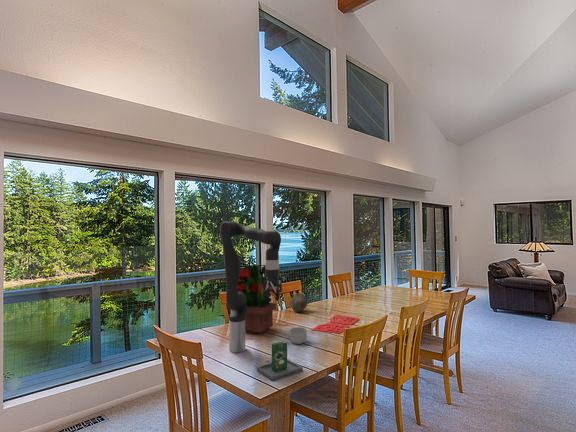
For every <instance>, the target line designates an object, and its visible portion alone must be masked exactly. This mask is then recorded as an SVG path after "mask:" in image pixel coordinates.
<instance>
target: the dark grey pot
mask: <svg viewBox="0 0 576 432" xmlns="http://www.w3.org/2000/svg"><path fill="white" fill-rule="evenodd" d="M307 305H308V299H307V298H306V296H305V295H304V293H295V294H294V295H293V296H292V297H291V300H290V307H291V309H292V310H293V312H295V313H301V312H303V311H305V309H306V308H307V307H308V306H307Z"/></svg>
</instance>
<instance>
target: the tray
mask: <svg viewBox="0 0 576 432" xmlns="http://www.w3.org/2000/svg"><path fill="white" fill-rule="evenodd" d="M271 365H272V363H271V362H269V363H265V364H262V365H259V366H256V371H257V372H258V373H259V374H260V375H262V376H263V377H265V378H267V379H268V380H270V381H272V382H274V381H278V380H280V379H283V378H285V377H286V378H287V377H289V376H291V375H295V374H297V373H301V372H303V370H304V369H303V366H302V365H300V364H298V363H297V362H295V361H292V360H290V359H289V358H287V368H286V369H282V370H279V371H275V372H273V371H272V368H271Z"/></svg>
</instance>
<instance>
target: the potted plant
mask: <svg viewBox="0 0 576 432" xmlns="http://www.w3.org/2000/svg"><path fill="white" fill-rule="evenodd" d="M240 266H241V271H240V276H239V279H238V280H239V281H238V292H243V293H244V294H245V296H246V299H247V310H246V316H245V333H251V334H257V335H262V334H264V333H265V332H267V331H268V330H270V328H271V327H273V326H274V323H273V322H274V321H273V320H274V317H273V311H274V310H276V309H277V303H276V302H272V298H271V296H272V294H274V295H275V291H274V289H273V288H272V287H271V289H270V297H266V289H264V278H267V277H266V276H265V264H254V263H252V265H240ZM266 285H267V284H266ZM276 287H277V286H276ZM276 290H277V289H276ZM271 292H272V293H271Z"/></svg>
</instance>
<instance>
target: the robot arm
mask: <svg viewBox="0 0 576 432" xmlns="http://www.w3.org/2000/svg"><path fill="white" fill-rule="evenodd" d="M219 233H220V240H221V244H222V252H223V261H224V273H225V285H226V287H225V289H226V292H225V293H226V294H225V295H226V296H225V299H226V302H225V303H226V305H227V307H228V308H229V309H230V310H231V313H230V315H229V317H228V318H229V319H228V326H229V327H228V328H229V331H228V332H229V333H228V343H229V345H228V348H229V352H232V353H242V352H244V351H246V330H245V316H246V310H247V299H246V296H245V294H244V293H243V292H238V282H239V280H240V279H239V276H240V271H241V268H242V267H241V266H242V265H241V257H240V256H239V253H237V250H236V249H235V247H234V245H233V240H232V238H234V237H245V238H246V239H248V240H251V241H254V242H255V241H256V242H260V243H262V244H264V245H269V248H267V249H266V250H265V262H264V263H265V264H264V265H265V276H266V277H267V278H264V289H266V297H269V298H271V296H270V293H271V291H270V289H271V287H272V288H273V289H274V291H275V294H274V299H275V301H277V300H280V292H281V293H282V291H283V285H282V283H283V281H282V280H280V279H278V278H279V277H280V261H279V259H280V258H279V256H280V255H279V254H280V253H279V251H280V247H281V244H282V243H281V242H282V236H281V233H280V232H279V231H277V230H276V231H275V230H274V231H273V230H271V231H270V230H269V231H267V230H264V229H262V228H257V227H251V226H248V225H247V226H246V225H244V224H241V223H239V222H237V221H223V222H221V224H220V225H219ZM266 284H267V285H266ZM276 286H277V287H276ZM276 289H277V290H276Z"/></svg>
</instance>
